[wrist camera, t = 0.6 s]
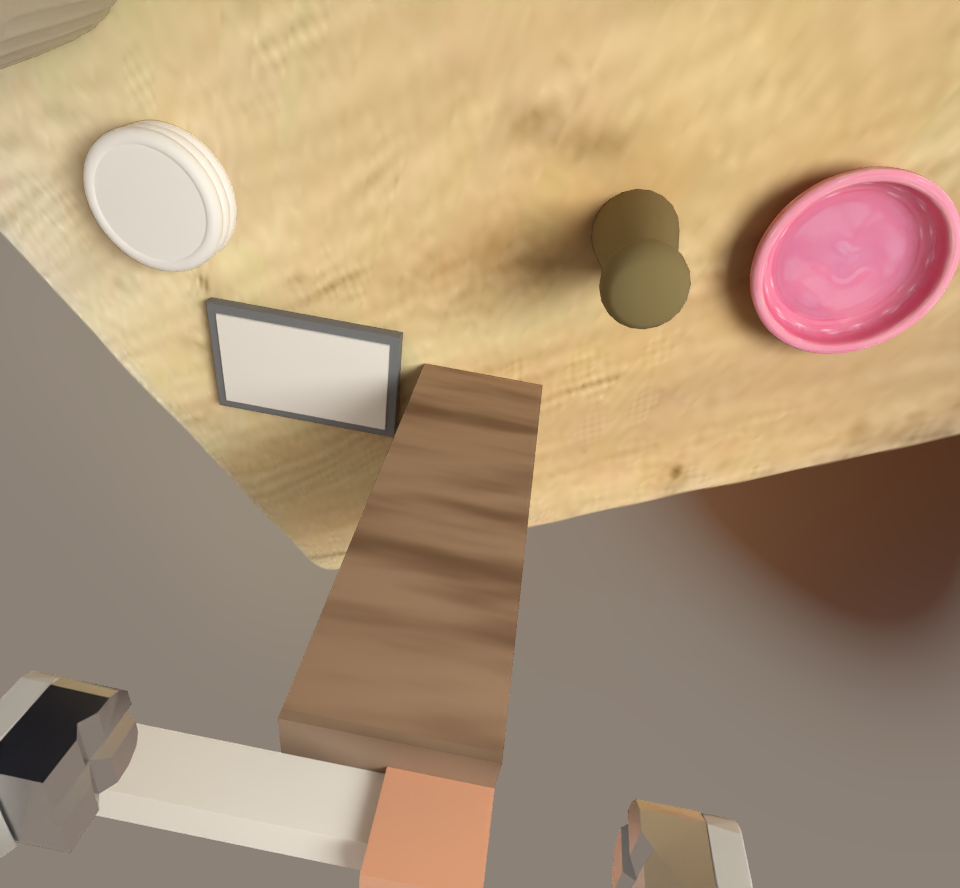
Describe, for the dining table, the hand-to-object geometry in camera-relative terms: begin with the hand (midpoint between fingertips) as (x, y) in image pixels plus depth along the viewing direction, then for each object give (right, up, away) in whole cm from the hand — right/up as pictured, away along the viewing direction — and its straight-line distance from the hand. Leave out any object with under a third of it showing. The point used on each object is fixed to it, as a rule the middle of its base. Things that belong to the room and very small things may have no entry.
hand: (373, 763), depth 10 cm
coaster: (-21, +24, +38) cm, 50 cm away
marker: (-8, -11, +21) cm, 25 cm away
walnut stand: (+1, +7, +46) cm, 47 cm away
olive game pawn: (+13, +20, +35) cm, 43 cm away
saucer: (+27, +18, +35) cm, 47 cm away
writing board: (-13, +12, +45) cm, 49 cm away
